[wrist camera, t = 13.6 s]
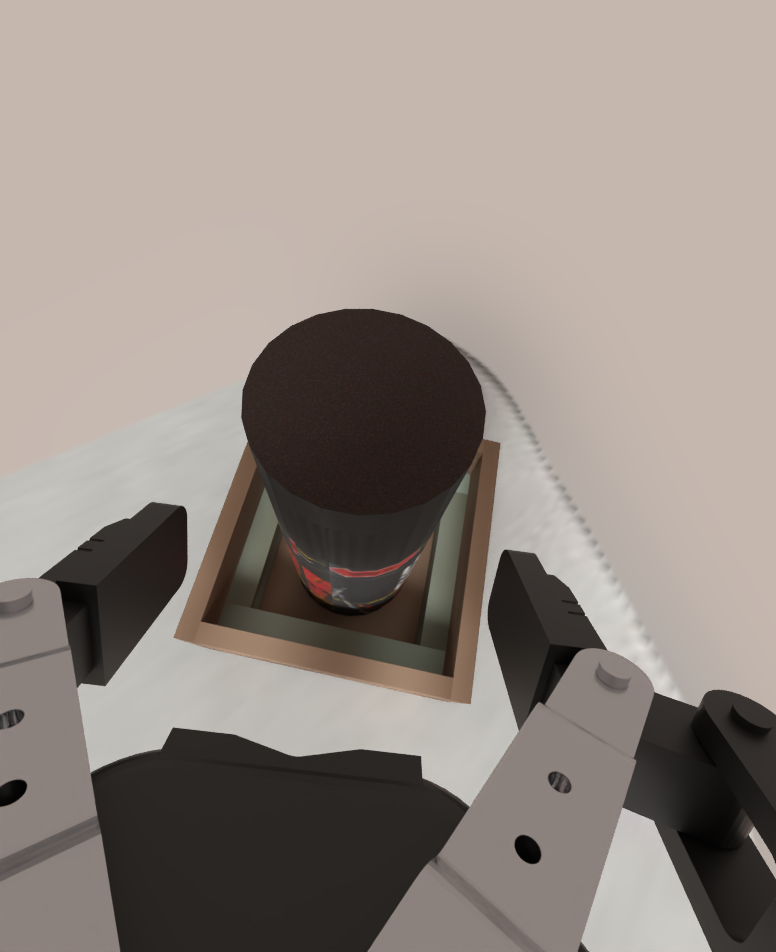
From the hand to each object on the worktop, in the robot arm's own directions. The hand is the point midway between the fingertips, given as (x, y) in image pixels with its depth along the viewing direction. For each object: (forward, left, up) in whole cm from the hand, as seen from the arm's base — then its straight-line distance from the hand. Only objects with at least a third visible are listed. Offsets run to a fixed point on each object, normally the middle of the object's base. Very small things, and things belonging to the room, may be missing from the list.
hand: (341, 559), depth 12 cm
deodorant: (0, +3, -13) cm, 14 cm away
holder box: (0, +4, -13) cm, 14 cm away
